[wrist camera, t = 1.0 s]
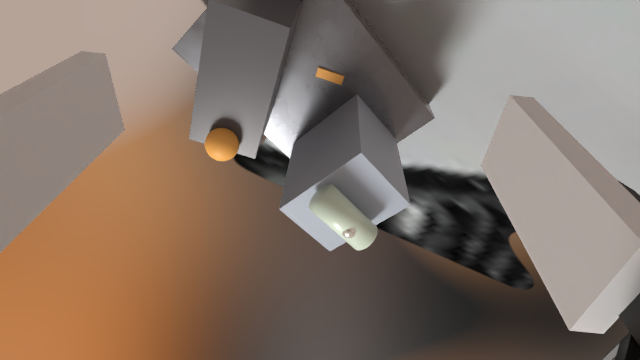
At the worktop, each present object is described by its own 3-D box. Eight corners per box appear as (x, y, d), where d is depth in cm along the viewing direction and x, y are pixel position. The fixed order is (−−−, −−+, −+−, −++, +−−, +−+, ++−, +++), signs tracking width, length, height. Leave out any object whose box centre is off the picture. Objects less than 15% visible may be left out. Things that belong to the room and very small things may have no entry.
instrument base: (181, 42, 34) (87, 118, 22) (287, -80, 29) (243, -71, 16) (323, 177, 43) (314, 288, 30) (428, 104, 37) (472, 205, 24)
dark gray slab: (239, -22, 28) (198, 5, 20) (302, 1, 29) (286, 36, 21) (217, 99, 34) (179, 156, 26) (270, 115, 35) (249, 176, 27)
